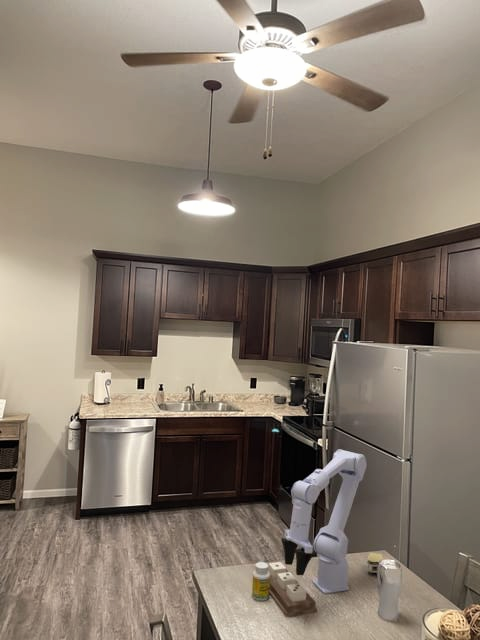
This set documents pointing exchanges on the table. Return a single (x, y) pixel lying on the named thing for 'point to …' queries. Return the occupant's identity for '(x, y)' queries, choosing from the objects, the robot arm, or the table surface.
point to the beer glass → (389, 588)
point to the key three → (296, 592)
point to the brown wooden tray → (286, 604)
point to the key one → (276, 569)
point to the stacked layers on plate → (373, 562)
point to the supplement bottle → (261, 582)
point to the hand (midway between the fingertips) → (294, 569)
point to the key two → (285, 580)
